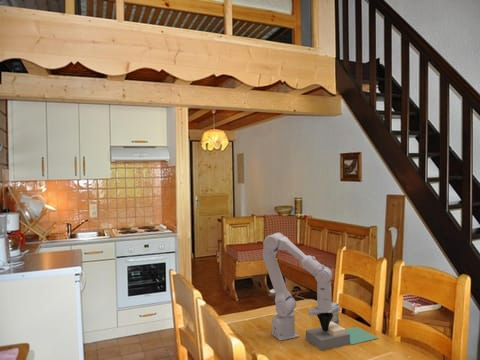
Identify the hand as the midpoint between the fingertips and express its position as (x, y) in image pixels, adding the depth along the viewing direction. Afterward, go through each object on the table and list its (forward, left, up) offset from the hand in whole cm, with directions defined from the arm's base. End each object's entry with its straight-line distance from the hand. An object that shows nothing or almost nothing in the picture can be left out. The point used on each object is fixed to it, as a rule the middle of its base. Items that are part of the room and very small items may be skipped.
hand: (324, 330), depth 152 cm
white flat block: (+4, 0, -1) cm, 4 cm away
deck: (+1, 0, -5) cm, 5 cm away
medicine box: (+15, +16, -5) cm, 23 cm away
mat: (+15, 0, -5) cm, 16 cm away
